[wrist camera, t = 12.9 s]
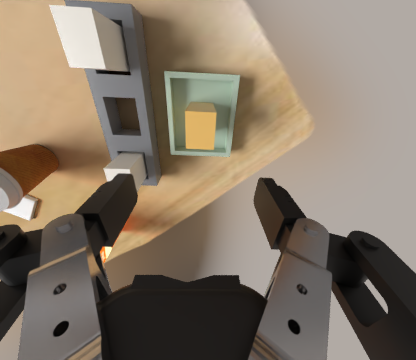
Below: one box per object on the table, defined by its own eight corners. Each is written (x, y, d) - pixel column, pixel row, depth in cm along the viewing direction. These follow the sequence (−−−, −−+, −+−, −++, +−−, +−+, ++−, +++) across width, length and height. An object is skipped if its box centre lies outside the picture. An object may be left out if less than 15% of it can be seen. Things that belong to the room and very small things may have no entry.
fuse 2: (128, 146, 34) (103, 168, 25) (148, 146, 34) (129, 169, 25) (133, 167, 36) (111, 194, 28) (151, 168, 37) (135, 194, 28)
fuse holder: (84, 11, 23) (64, -1, 20) (141, 15, 24) (131, 4, 20) (126, 175, 37) (118, 184, 34) (161, 176, 38) (157, 185, 34)
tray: (167, 71, 27) (164, 71, 25) (236, 75, 28) (240, 75, 25) (173, 149, 34) (170, 154, 32) (228, 151, 35) (229, 156, 32)
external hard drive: (34, 217, 45) (-23, 195, 40) (40, 197, 41) (-22, 172, 37) (29, 221, 43) (-31, 199, 39) (34, 202, 40) (-31, 176, 36)
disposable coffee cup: (59, 140, 33) (-6, 168, 23) (71, 180, 38) (22, 217, 28) (7, 132, 32) (-86, 157, 22) (26, 174, 37) (-42, 210, 27)
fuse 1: (103, 30, 24) (49, 4, 16) (130, 32, 25) (91, 7, 16) (112, 70, 27) (69, 67, 18) (136, 72, 27) (105, 69, 19)
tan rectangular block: (190, 101, 29) (185, 111, 21) (213, 102, 29) (216, 112, 21) (190, 130, 32) (185, 148, 23) (211, 130, 32) (213, 149, 23)
